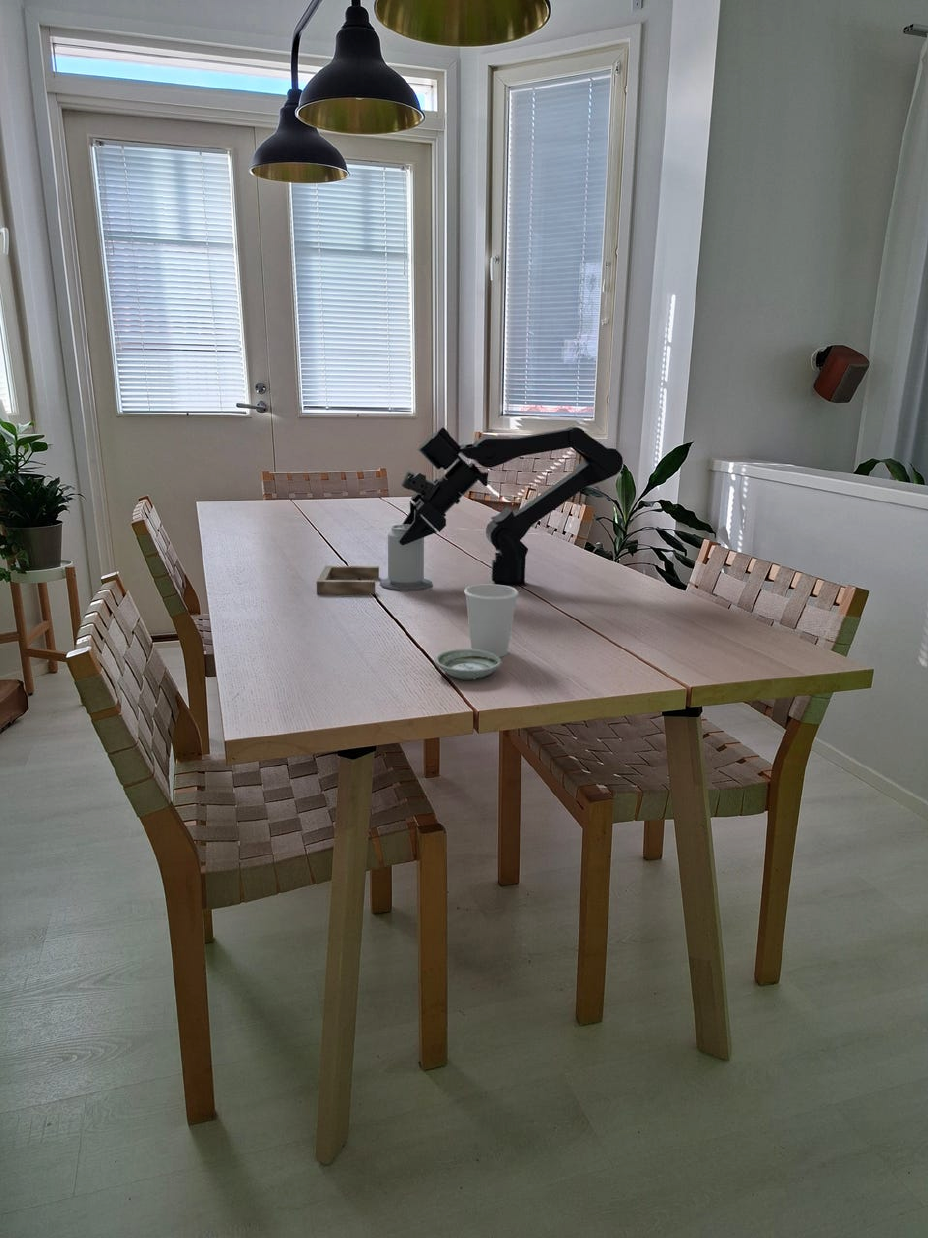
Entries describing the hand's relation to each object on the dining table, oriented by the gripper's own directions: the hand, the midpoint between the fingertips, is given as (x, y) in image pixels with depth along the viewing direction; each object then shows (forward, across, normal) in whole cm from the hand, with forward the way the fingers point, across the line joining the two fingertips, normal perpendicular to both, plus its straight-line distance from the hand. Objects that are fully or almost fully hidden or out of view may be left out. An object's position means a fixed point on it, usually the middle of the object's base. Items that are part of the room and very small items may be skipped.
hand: (399, 539), depth 167 cm
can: (+6, 0, +8) cm, 9 cm away
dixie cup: (-1, +46, +15) cm, 48 cm away
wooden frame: (+14, 0, 0) cm, 14 cm away
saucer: (+2, +56, +12) cm, 57 cm away
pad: (+6, 0, +8) cm, 10 cm away
